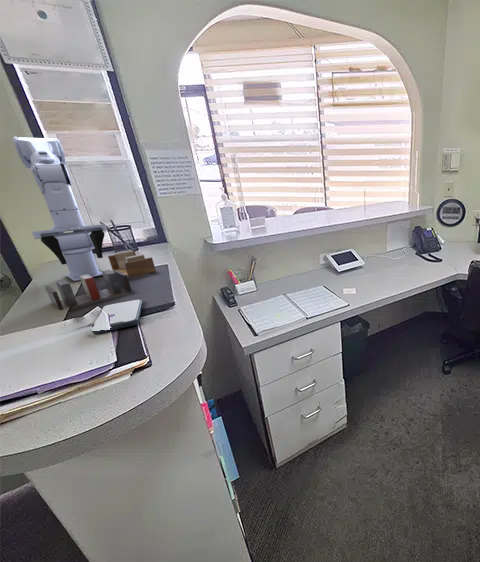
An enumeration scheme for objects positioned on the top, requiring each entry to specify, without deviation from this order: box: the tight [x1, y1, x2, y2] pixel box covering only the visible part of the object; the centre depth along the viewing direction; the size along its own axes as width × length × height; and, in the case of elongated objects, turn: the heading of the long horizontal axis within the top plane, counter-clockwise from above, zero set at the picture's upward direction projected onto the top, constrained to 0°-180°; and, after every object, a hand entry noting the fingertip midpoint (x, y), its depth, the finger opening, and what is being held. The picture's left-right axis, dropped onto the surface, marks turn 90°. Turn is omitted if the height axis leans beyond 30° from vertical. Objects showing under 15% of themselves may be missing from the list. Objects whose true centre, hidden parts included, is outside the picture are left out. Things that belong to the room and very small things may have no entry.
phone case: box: [91, 298, 143, 334], centre depth 78 cm, size 9×2×16 cm
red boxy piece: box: [80, 274, 100, 299], centre depth 87 cm, size 2×5×6 cm, turn 55°
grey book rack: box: [44, 269, 133, 311], centre depth 88 cm, size 16×8×7 cm, turn 145°
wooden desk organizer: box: [107, 249, 157, 279], centre depth 110 cm, size 16×8×7 cm, turn 55°
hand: (82, 261), depth 85 cm, fingers open, 7 cm apart
